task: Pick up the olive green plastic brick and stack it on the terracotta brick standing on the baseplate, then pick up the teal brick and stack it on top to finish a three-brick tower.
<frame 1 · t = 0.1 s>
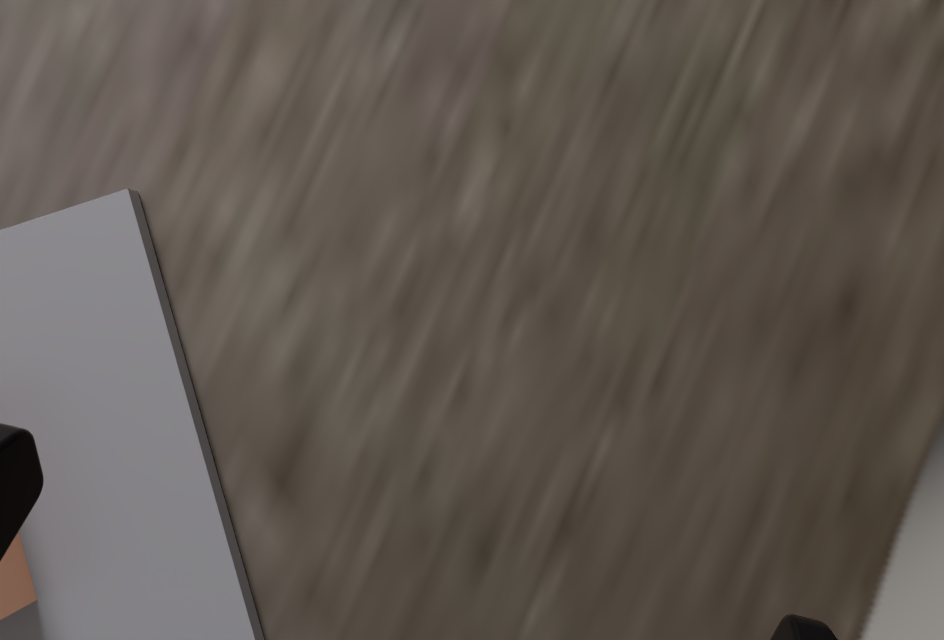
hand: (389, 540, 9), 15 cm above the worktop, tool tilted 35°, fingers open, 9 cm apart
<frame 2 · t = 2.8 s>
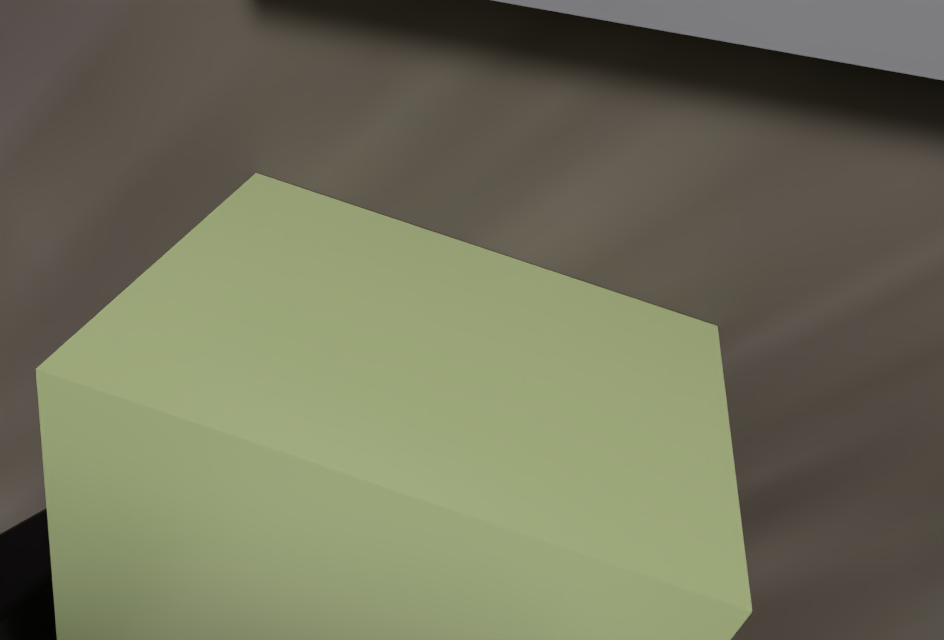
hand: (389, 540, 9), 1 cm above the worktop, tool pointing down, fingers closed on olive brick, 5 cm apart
olive brick: (413, 478, 10), on the worktop, touching gripper
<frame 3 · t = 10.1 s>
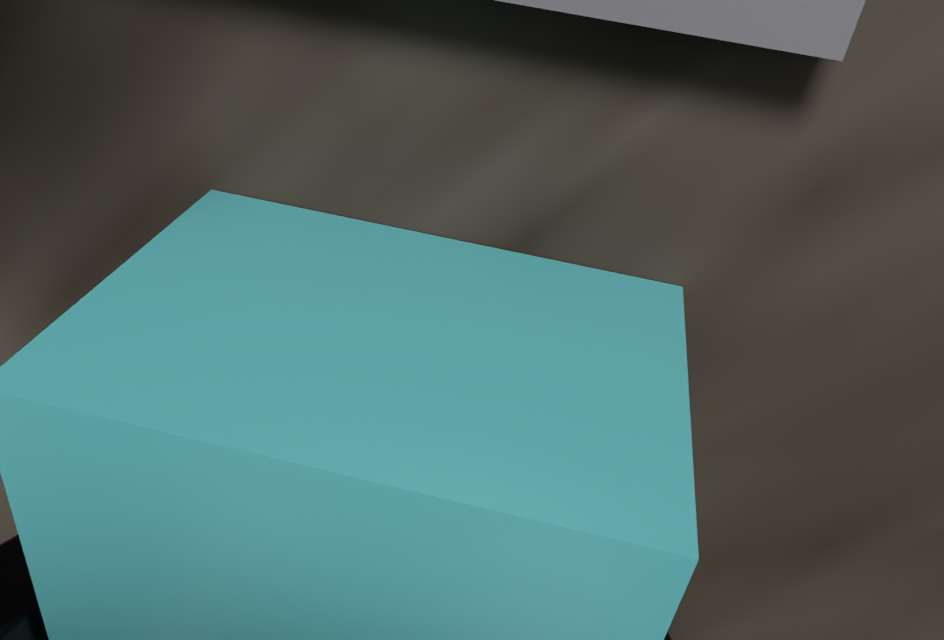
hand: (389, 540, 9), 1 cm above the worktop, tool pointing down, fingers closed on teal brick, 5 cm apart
teal brick: (412, 478, 10), on the worktop, touching gripper
when the fingers open (10 cm above the worktop, at t = 13.0 s): teal brick drops 1 cm, resting on olive brick.
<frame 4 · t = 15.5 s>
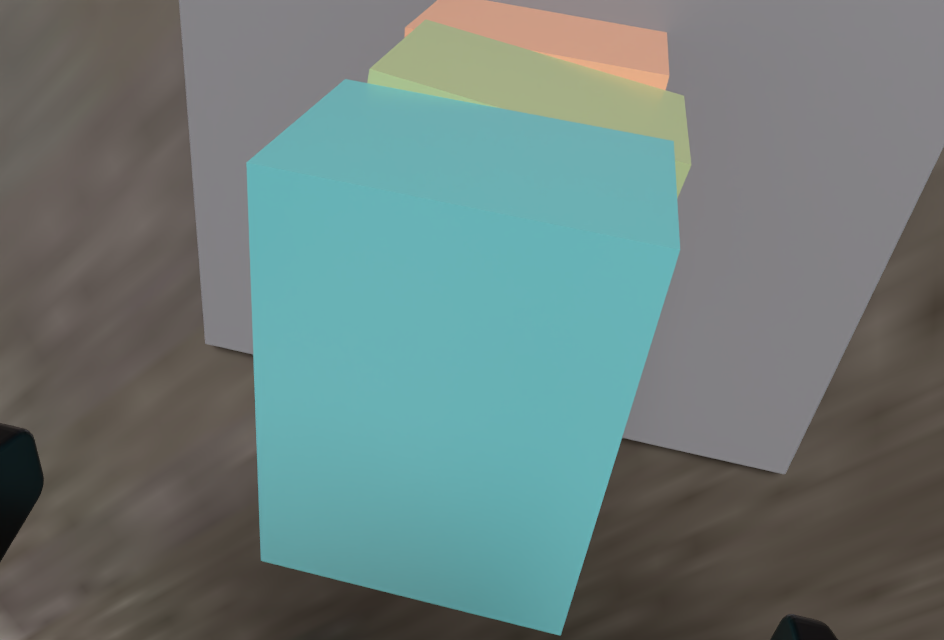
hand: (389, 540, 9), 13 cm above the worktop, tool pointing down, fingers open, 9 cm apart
olive brick: (506, 220, 17), point 4 cm above the worktop, touching teal brick, terracotta brick
terracotta brick: (528, 159, 19), point 1 cm above the worktop, touching baseplate, olive brick
teal brick: (476, 305, 14), point 8 cm above the worktop, touching olive brick
baseplate: (531, 151, 20), on the worktop
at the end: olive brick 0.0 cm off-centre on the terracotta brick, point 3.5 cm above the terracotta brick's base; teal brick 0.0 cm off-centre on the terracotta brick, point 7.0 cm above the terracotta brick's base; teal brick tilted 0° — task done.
